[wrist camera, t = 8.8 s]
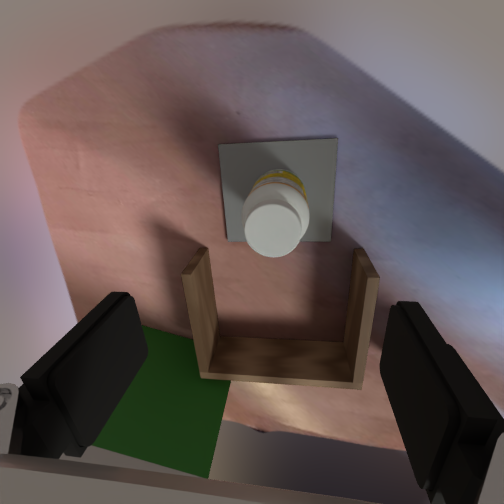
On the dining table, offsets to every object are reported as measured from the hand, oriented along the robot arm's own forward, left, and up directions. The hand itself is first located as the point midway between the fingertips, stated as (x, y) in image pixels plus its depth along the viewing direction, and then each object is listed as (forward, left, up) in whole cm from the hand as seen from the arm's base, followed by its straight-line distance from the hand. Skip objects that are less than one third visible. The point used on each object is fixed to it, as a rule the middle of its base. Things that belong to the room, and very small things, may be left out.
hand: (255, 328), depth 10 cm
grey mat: (0, 0, -20) cm, 20 cm away
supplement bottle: (0, 0, -20) cm, 20 cm away
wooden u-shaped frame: (0, +13, -20) cm, 24 cm away
